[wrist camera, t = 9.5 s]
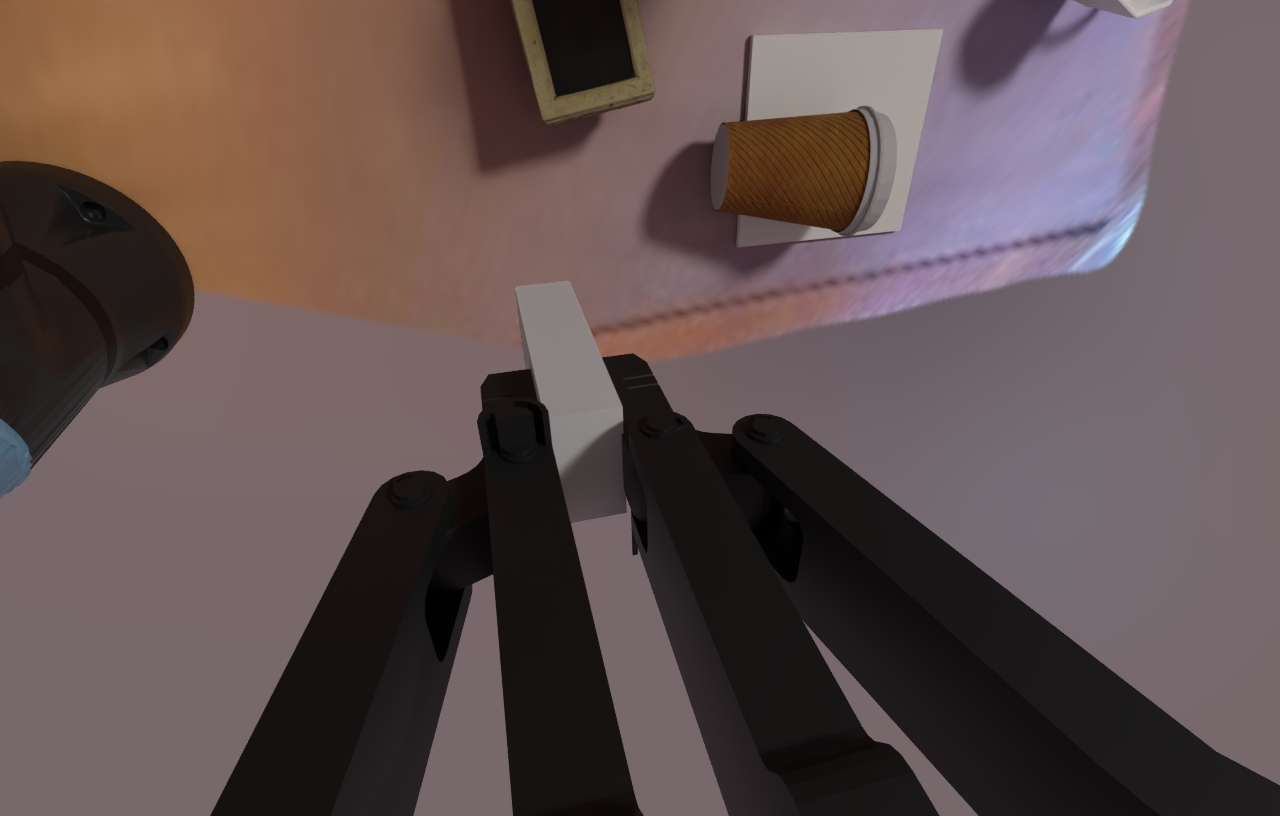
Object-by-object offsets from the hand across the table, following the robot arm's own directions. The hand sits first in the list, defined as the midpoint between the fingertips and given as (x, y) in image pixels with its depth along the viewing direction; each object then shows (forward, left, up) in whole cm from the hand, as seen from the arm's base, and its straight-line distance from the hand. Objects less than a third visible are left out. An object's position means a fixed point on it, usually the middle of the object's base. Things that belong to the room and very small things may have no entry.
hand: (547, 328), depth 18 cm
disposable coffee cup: (+17, -3, -31) cm, 35 cm away
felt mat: (+28, -3, -34) cm, 44 cm away
